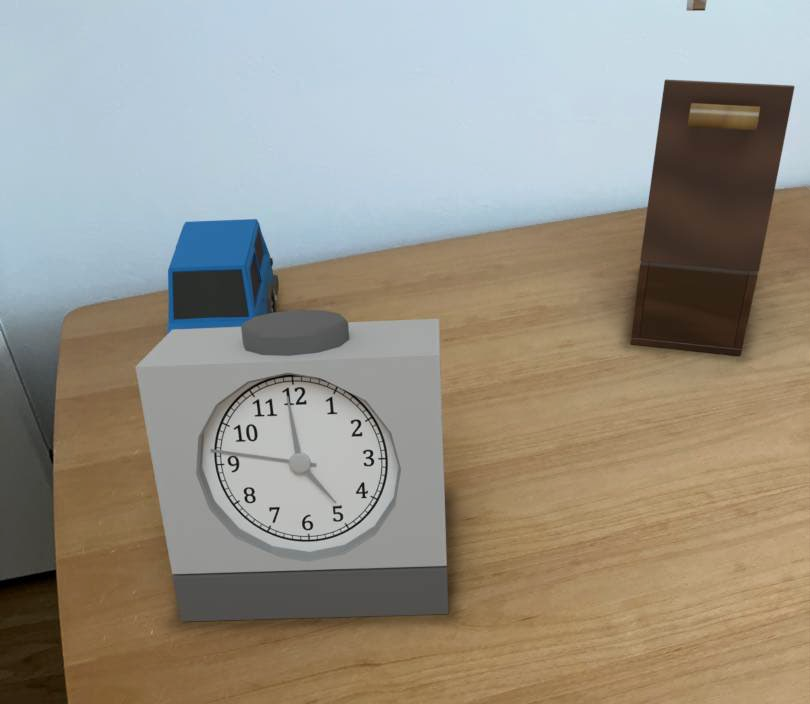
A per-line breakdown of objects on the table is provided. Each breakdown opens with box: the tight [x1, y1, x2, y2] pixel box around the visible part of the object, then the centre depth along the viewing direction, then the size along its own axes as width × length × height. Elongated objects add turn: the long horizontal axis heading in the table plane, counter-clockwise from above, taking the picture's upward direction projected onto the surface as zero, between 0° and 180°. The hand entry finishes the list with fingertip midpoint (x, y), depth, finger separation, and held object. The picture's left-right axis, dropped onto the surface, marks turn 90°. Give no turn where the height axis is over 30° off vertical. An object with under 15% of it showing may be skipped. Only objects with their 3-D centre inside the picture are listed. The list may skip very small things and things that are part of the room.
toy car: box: [166, 218, 280, 335], centre depth 100 cm, size 9×19×10 cm, turn 179°
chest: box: [630, 261, 759, 357], centre depth 101 cm, size 15×11×9 cm
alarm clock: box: [135, 309, 449, 623], centre depth 75 cm, size 20×16×20 cm
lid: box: [639, 79, 795, 273], centre depth 87 cm, size 15×11×5 cm
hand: (757, 9), depth 80 cm, fingers open, 8 cm apart
